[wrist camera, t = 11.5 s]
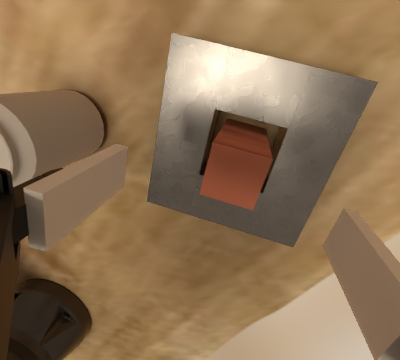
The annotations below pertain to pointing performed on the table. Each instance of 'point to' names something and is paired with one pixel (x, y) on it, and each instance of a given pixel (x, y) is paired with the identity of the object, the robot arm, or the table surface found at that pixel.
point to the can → (46, 131)
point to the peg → (237, 164)
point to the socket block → (259, 110)
